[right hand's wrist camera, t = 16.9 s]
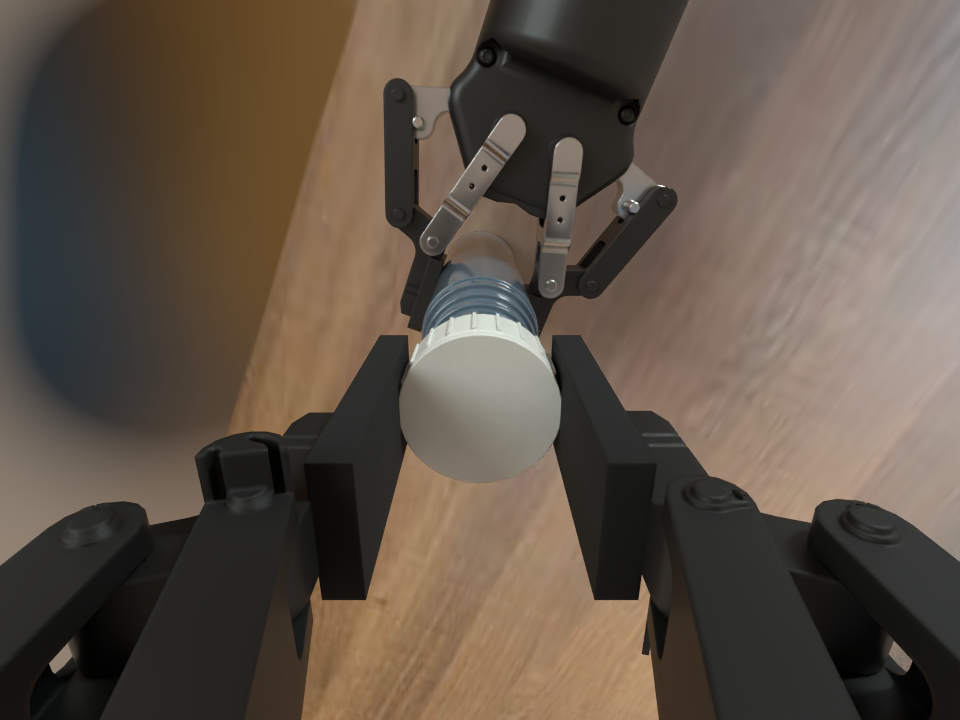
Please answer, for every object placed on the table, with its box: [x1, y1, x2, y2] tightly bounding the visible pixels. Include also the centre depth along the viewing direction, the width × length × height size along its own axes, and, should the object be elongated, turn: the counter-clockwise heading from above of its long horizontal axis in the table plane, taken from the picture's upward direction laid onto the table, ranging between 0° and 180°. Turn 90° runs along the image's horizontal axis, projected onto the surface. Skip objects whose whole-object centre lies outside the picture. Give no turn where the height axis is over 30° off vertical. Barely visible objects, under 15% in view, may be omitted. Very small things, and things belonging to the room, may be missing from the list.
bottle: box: [422, 231, 539, 340], centre depth 22 cm, size 4×4×20 cm
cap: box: [399, 312, 561, 483], centre depth 14 cm, size 4×4×2 cm
